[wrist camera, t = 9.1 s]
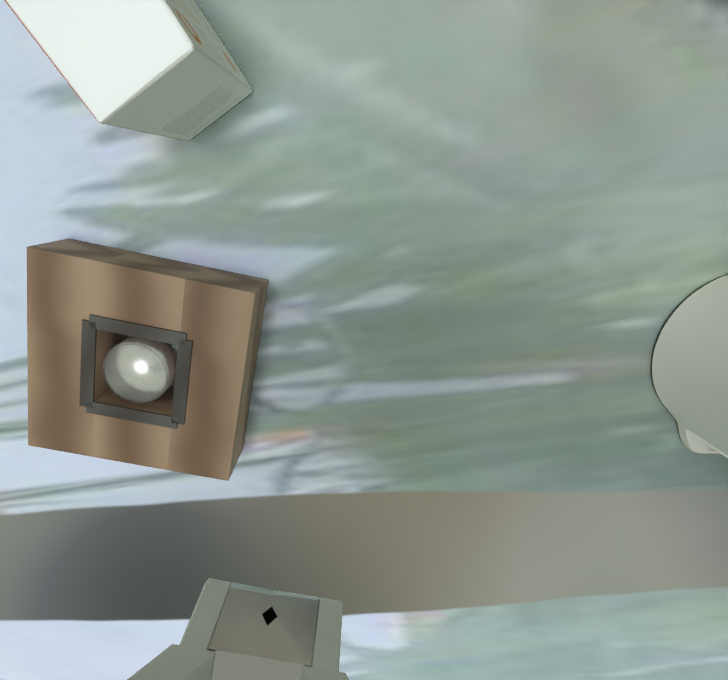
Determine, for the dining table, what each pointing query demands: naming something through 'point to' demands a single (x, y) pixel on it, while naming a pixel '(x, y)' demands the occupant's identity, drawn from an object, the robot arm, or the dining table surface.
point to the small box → (138, 61)
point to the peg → (140, 368)
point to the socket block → (148, 321)
